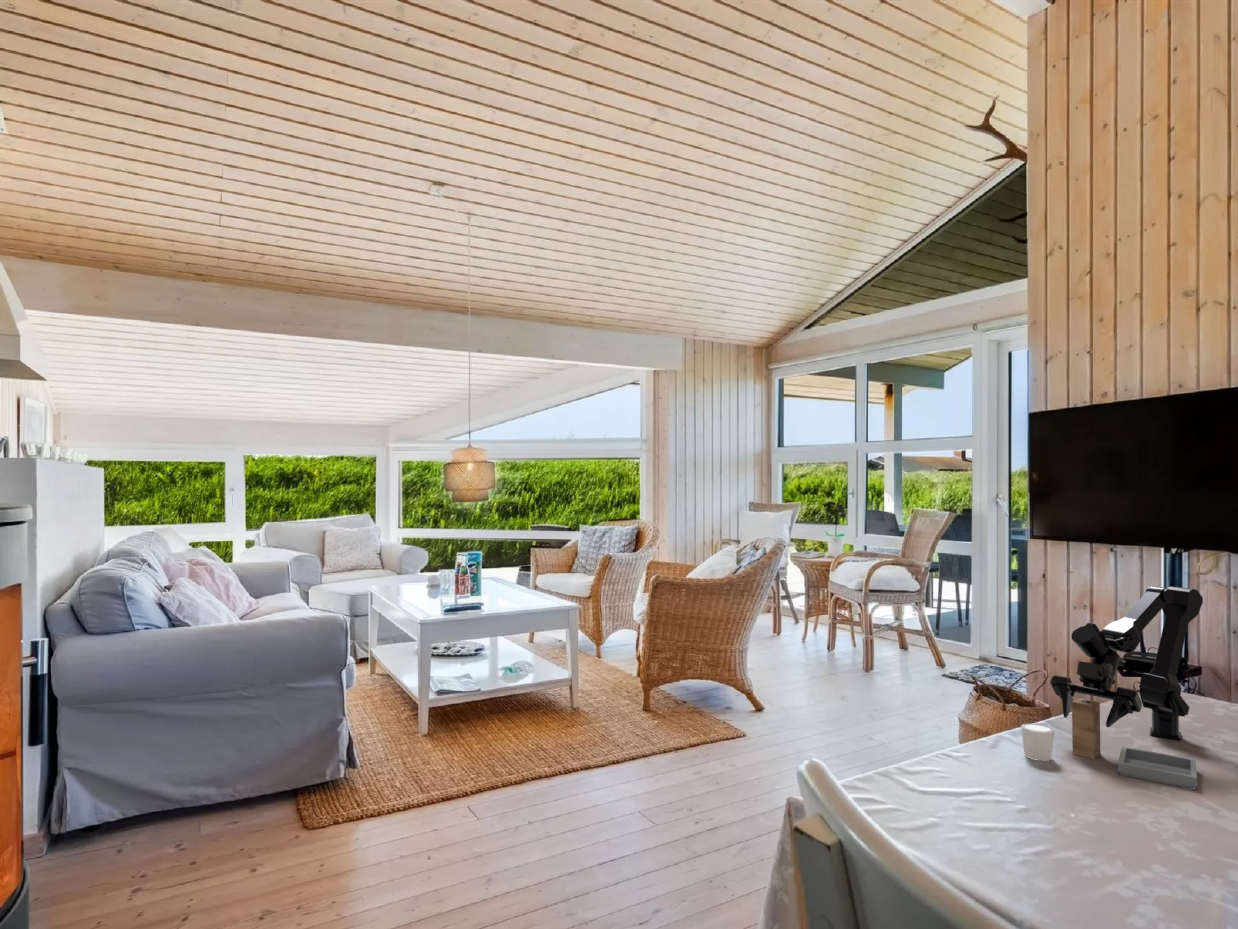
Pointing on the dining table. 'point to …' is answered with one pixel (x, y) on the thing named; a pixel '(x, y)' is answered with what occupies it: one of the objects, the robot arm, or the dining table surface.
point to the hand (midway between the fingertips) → (1085, 721)
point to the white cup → (1037, 741)
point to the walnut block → (1086, 727)
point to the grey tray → (1158, 767)
